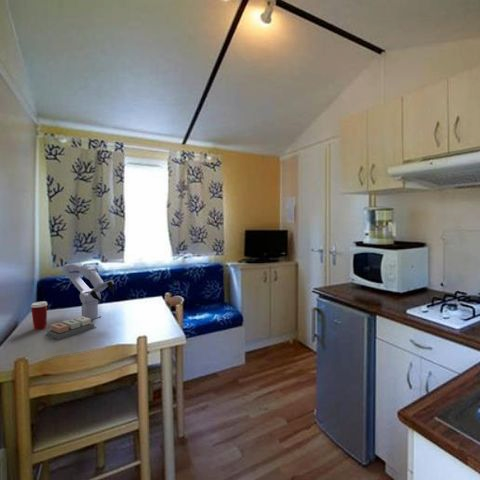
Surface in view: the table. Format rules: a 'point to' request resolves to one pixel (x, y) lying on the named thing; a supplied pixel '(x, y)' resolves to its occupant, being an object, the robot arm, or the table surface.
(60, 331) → the key three
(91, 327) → the keypad board
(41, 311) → the paper cup
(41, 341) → the table surface
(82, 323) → the key one
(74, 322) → the key two
